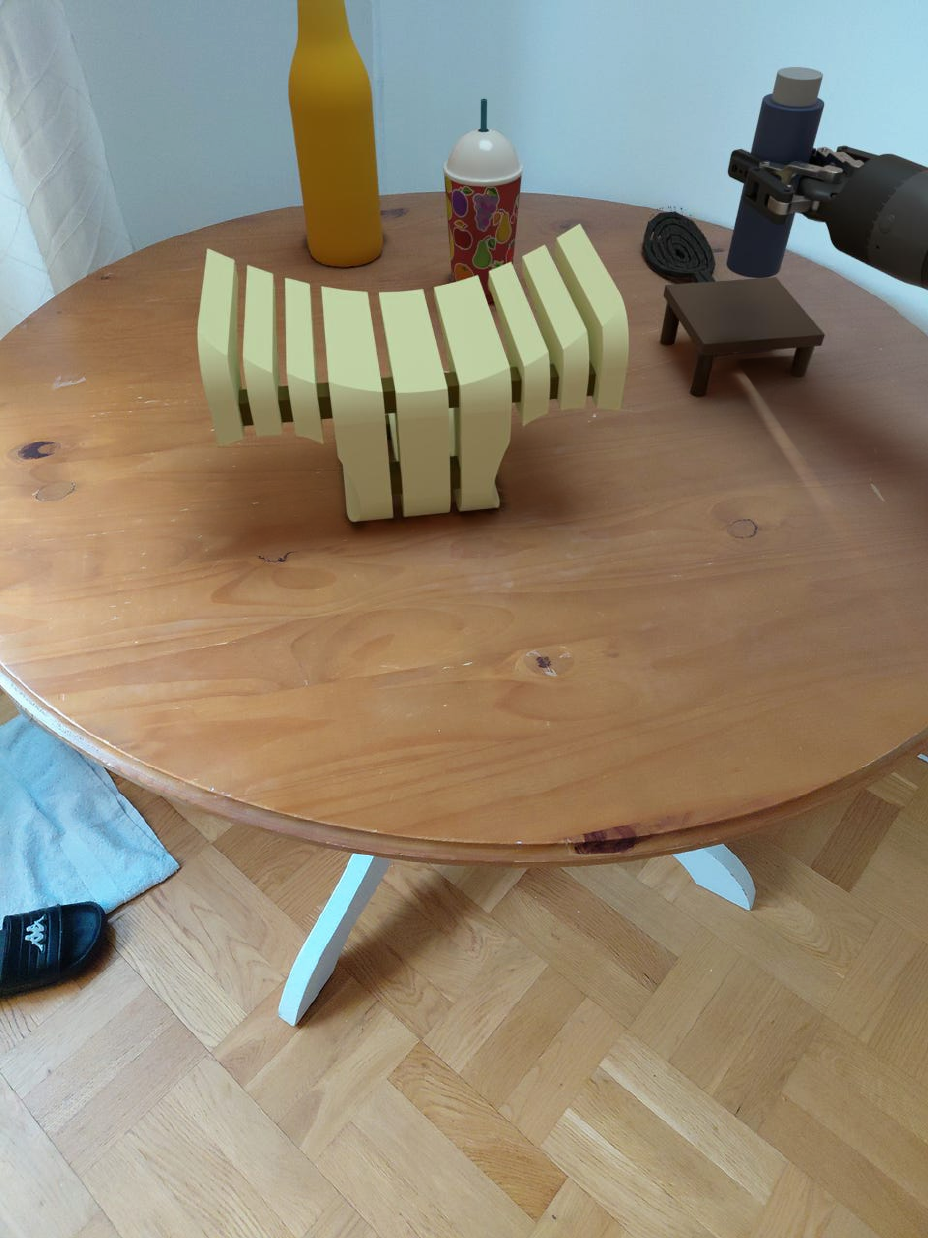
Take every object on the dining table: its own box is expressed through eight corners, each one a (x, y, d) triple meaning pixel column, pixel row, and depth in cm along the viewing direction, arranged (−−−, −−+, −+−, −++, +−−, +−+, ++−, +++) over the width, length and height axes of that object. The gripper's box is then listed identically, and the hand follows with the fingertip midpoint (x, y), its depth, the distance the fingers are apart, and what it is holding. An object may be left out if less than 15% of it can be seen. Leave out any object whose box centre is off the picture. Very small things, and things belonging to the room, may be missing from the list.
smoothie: (509, 273, 103) (516, 84, 88) (524, 306, 98) (534, 110, 83) (440, 279, 102) (436, 88, 87) (451, 312, 97) (449, 115, 82)
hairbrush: (691, 312, 91) (637, 205, 107) (684, 343, 93) (632, 234, 109) (767, 309, 91) (702, 202, 107) (758, 340, 94) (695, 232, 110)
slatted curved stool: (245, 551, 70) (194, 352, 57) (249, 437, 80) (207, 248, 67) (604, 515, 73) (634, 318, 60) (562, 409, 83) (579, 223, 70)
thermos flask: (767, 253, 83) (816, 63, 72) (788, 276, 80) (843, 80, 68) (718, 256, 83) (759, 65, 71) (737, 280, 80) (783, 83, 68)
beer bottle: (294, 251, 107) (252, -36, 86) (353, 229, 112) (326, -50, 90) (339, 276, 103) (306, -21, 81) (398, 252, 107) (382, -36, 86)
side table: (761, 330, 94) (776, 276, 89) (806, 389, 86) (825, 334, 81) (655, 338, 93) (665, 284, 88) (691, 399, 85) (703, 343, 80)
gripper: (826, 290, 67) (685, 214, 77) (952, 251, 72) (803, 184, 82) (858, 189, 61) (702, 122, 71) (992, 154, 66) (827, 95, 76)
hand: (757, 155), depth 77 cm, fingers closed on thermos flask, 5 cm apart
